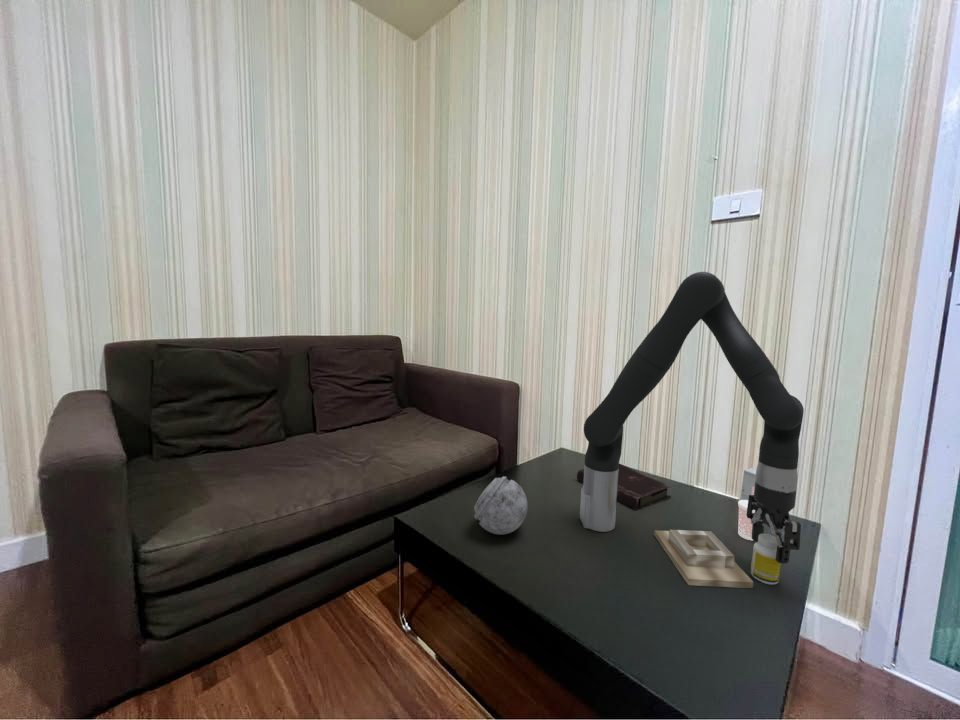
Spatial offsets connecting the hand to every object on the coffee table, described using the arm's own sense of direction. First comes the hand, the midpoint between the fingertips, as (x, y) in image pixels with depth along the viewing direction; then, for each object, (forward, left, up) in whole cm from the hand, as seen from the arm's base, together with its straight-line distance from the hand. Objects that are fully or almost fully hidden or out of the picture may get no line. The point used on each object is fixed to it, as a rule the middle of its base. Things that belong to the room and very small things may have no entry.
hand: (768, 550), depth 92 cm
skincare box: (+18, +34, -7) cm, 39 cm away
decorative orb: (-61, +15, -7) cm, 63 cm away
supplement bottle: (0, 0, -7) cm, 7 cm away
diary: (-19, +45, -7) cm, 50 cm away
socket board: (-12, +6, -7) cm, 15 cm away
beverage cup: (+7, +18, -7) cm, 20 cm away
